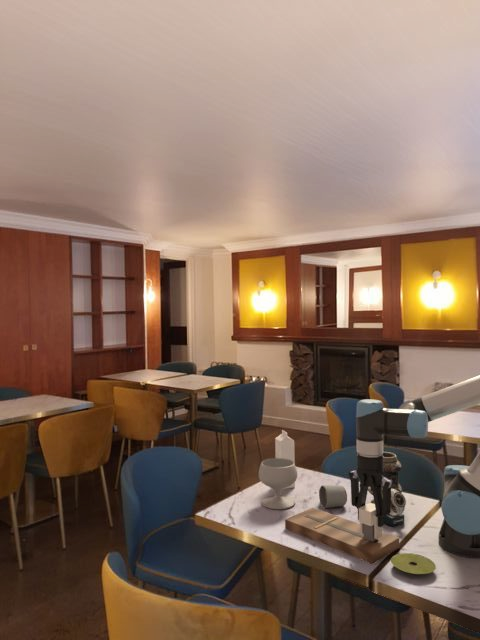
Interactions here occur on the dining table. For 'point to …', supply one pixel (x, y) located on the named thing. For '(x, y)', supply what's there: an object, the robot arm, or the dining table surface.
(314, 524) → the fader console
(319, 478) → the dining table surface
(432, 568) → the mat
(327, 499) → the ceramic mug
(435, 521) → the dining table surface
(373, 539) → the fader knob
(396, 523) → the watch
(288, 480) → the chalice
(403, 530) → the dining table surface
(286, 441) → the milk
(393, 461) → the apothecary jar
